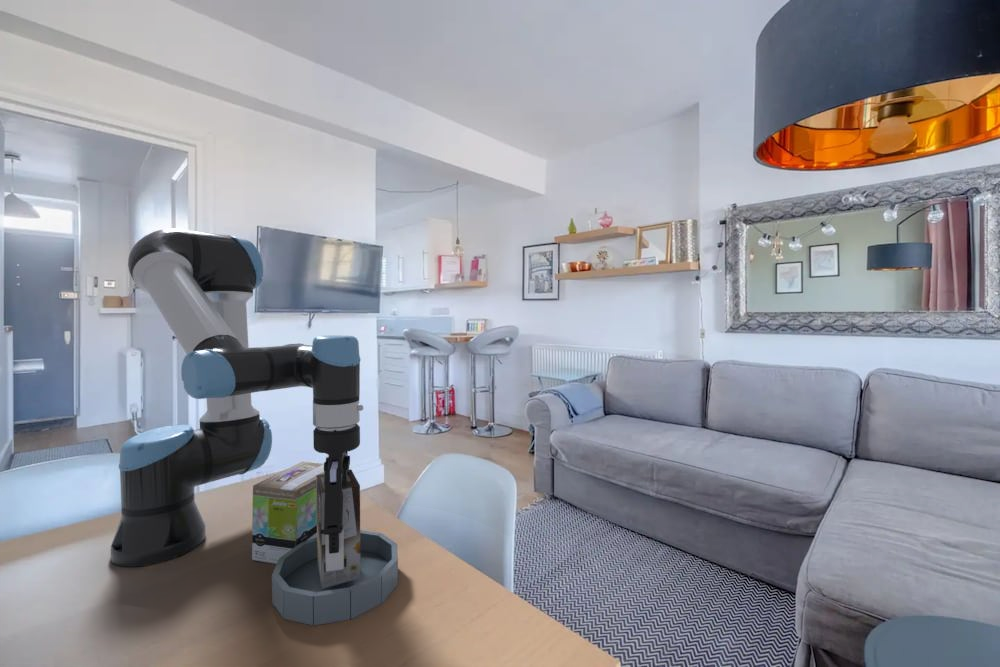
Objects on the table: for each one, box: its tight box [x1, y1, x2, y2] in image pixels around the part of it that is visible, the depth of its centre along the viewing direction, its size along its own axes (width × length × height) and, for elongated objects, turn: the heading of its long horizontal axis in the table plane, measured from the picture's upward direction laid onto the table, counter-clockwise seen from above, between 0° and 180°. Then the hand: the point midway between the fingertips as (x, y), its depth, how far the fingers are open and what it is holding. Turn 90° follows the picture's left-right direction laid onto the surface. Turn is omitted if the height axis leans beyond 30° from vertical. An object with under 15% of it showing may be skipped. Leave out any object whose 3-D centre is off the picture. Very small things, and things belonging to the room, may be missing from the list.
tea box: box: [251, 461, 324, 565], centre depth 90 cm, size 15×10×15 cm
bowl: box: [271, 529, 399, 626], centre depth 77 cm, size 20×20×4 cm
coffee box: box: [316, 468, 361, 588], centre depth 77 cm, size 9×6×16 cm
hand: (338, 552), depth 77 cm, fingers closed on coffee box, 10 cm apart
